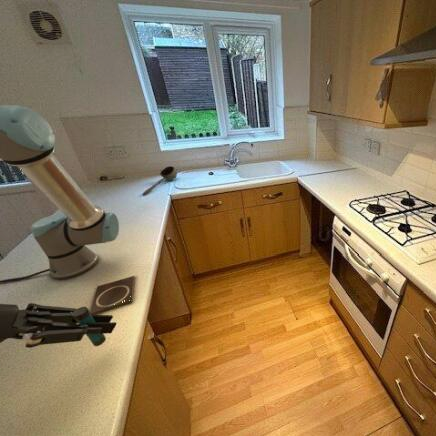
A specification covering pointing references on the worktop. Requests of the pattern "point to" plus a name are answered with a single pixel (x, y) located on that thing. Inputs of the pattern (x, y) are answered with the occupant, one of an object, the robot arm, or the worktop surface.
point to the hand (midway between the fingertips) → (111, 324)
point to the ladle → (164, 177)
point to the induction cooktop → (113, 295)
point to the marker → (84, 317)
